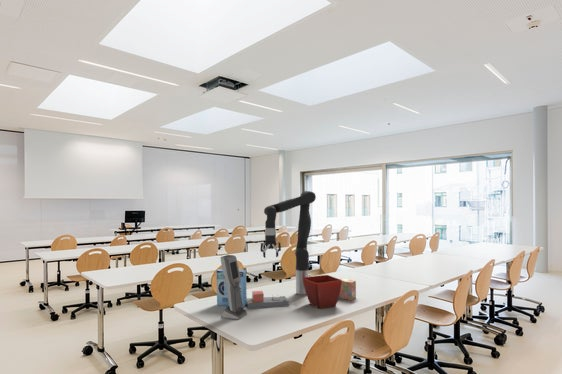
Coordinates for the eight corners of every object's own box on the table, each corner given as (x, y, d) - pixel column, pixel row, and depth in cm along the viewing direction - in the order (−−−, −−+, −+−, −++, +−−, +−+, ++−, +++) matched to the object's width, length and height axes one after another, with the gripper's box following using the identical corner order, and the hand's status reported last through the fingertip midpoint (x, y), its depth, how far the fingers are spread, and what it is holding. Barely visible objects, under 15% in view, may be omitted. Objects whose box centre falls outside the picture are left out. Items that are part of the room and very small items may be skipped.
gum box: (246, 305, 222) (246, 270, 223) (243, 307, 217) (243, 271, 218) (220, 303, 228) (219, 268, 229) (216, 305, 223) (216, 270, 224)
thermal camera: (229, 311, 210) (228, 254, 211) (247, 313, 205) (247, 255, 207) (218, 317, 199) (218, 257, 201) (238, 320, 194) (237, 258, 196)
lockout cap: (262, 298, 227) (262, 290, 227) (263, 301, 219) (263, 293, 219) (252, 298, 226) (252, 291, 226) (253, 302, 218) (253, 294, 218)
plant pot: (302, 302, 226) (302, 277, 226) (327, 299, 233) (326, 274, 234) (316, 311, 208) (316, 283, 209) (343, 307, 215) (342, 280, 216)
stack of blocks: (325, 295, 243) (324, 278, 244) (329, 293, 248) (329, 276, 249) (352, 300, 230) (351, 282, 230) (356, 298, 235) (355, 280, 235)
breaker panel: (284, 300, 231) (284, 294, 232) (288, 305, 220) (288, 299, 220) (246, 303, 227) (246, 297, 227) (247, 308, 215) (247, 302, 215)
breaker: (278, 298, 227) (278, 294, 227) (279, 300, 222) (279, 296, 222) (272, 298, 227) (272, 295, 227) (273, 301, 222) (273, 297, 222)
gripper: (279, 233, 246) (279, 256, 245) (259, 234, 243) (260, 257, 243) (281, 234, 238) (281, 257, 238) (261, 235, 236) (261, 258, 235)
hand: (270, 257), depth 240 cm, fingers open, 8 cm apart
